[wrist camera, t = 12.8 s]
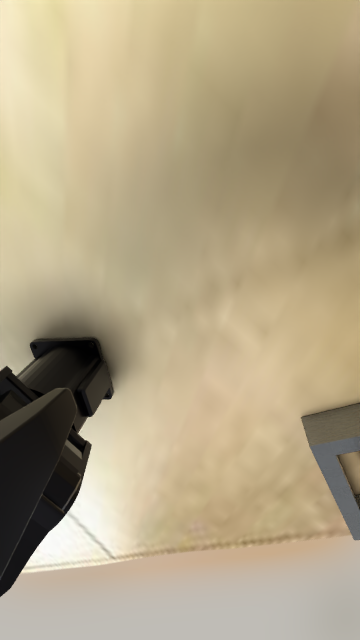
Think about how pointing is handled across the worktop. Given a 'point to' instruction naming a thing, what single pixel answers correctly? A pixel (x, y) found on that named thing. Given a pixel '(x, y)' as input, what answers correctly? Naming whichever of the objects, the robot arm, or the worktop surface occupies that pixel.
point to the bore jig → (329, 441)
